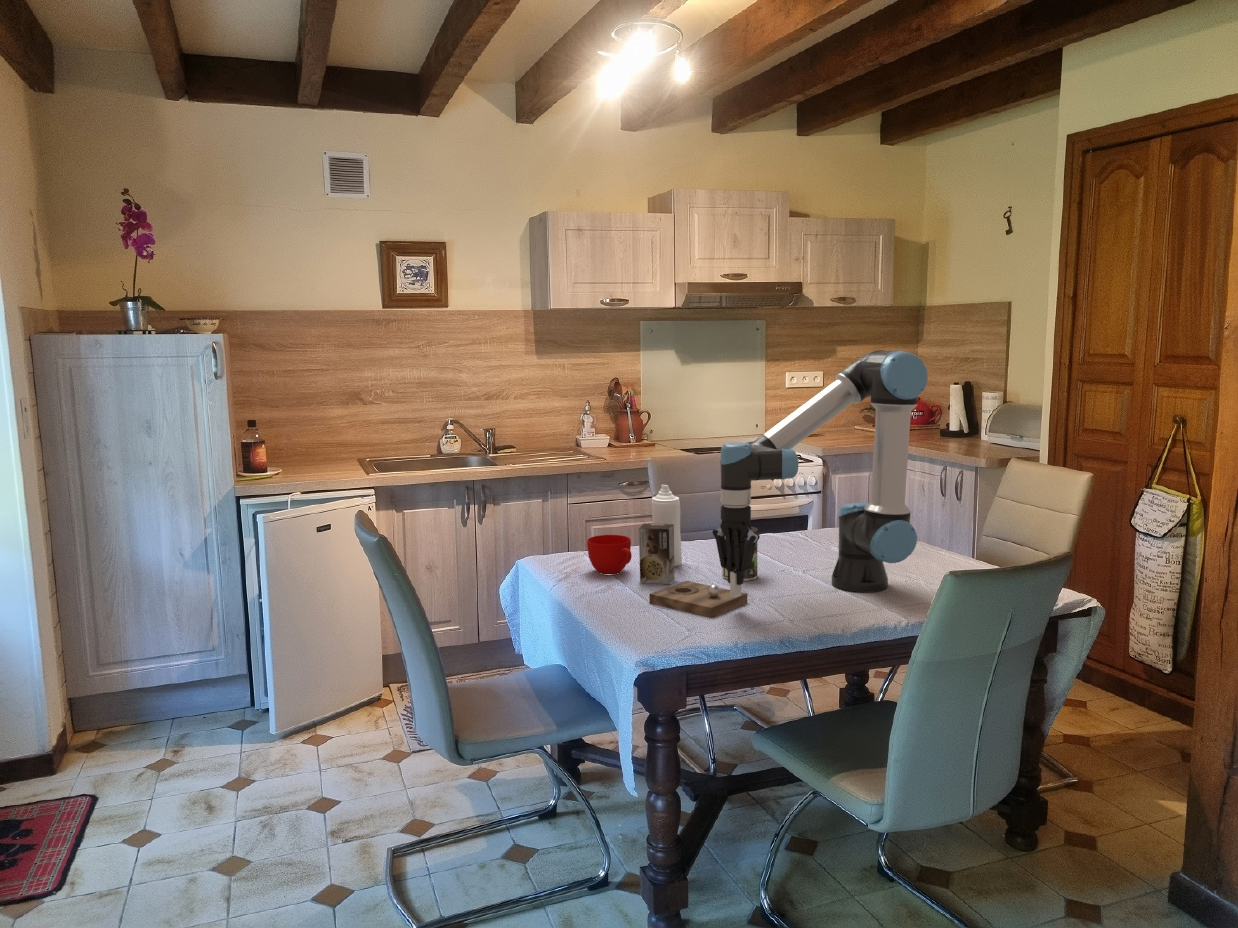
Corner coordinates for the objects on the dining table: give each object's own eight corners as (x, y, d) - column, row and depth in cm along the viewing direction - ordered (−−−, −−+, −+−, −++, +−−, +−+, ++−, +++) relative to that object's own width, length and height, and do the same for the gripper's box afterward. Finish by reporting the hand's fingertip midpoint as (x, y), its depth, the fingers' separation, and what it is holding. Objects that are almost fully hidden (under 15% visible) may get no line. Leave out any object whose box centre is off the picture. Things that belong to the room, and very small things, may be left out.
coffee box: (675, 578, 270) (674, 523, 268) (670, 584, 264) (669, 528, 262) (644, 577, 273) (643, 522, 270) (638, 582, 266) (638, 527, 264)
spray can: (692, 566, 283) (691, 484, 279) (660, 571, 279) (660, 488, 275) (673, 558, 293) (672, 479, 290) (643, 562, 289) (642, 482, 285)
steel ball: (722, 596, 243) (722, 584, 242) (715, 599, 241) (715, 587, 240) (712, 594, 245) (712, 582, 245) (705, 597, 243) (705, 585, 242)
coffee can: (758, 572, 275) (758, 525, 273) (756, 582, 265) (756, 533, 263) (723, 571, 277) (723, 524, 275) (720, 580, 267) (720, 532, 265)
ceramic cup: (612, 583, 266) (611, 549, 265) (579, 571, 280) (578, 538, 278) (648, 575, 274) (648, 542, 272) (614, 564, 287) (613, 532, 286)
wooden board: (747, 602, 246) (747, 593, 245) (711, 617, 234) (711, 607, 234) (686, 589, 259) (686, 580, 259) (649, 602, 247) (649, 593, 247)
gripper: (766, 505, 233) (765, 597, 237) (722, 499, 242) (722, 588, 245) (749, 510, 228) (749, 604, 231) (705, 504, 236) (705, 595, 240)
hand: (735, 596), depth 238 cm, fingers closed
